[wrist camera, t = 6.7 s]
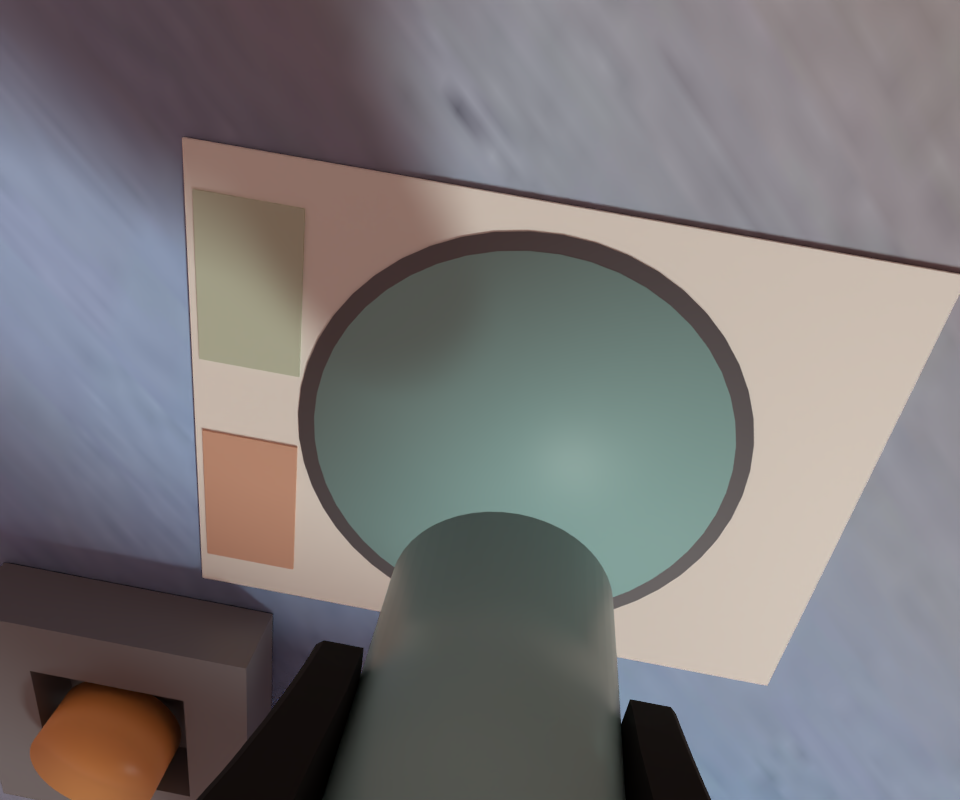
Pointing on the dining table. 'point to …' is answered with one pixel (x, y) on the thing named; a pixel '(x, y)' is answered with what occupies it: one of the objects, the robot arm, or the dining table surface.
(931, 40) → the dining table surface
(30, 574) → the button housing
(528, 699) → the green capped cylinder
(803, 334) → the picture sheet
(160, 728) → the button
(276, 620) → the dining table surface
